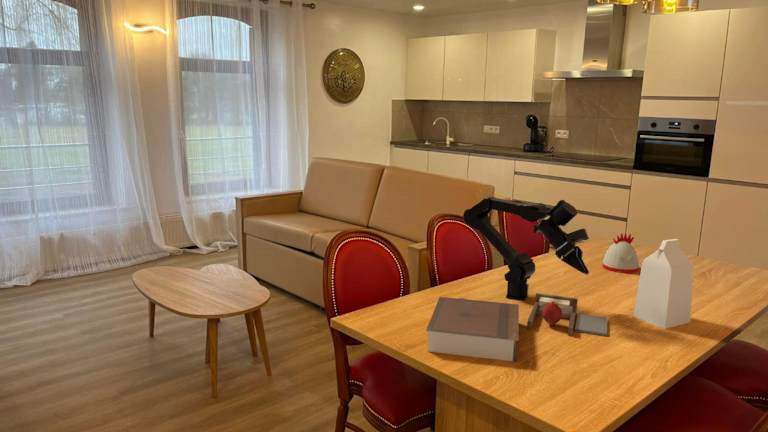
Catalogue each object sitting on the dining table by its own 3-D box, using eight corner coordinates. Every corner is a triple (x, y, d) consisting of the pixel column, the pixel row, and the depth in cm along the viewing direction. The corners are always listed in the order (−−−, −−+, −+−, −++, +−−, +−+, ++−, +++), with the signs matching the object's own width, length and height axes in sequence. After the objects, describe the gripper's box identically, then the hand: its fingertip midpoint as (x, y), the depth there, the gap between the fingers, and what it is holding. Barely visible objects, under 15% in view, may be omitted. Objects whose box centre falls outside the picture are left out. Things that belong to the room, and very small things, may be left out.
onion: (538, 321, 180) (540, 297, 178) (556, 321, 180) (558, 297, 179) (545, 329, 174) (547, 304, 173) (563, 328, 175) (566, 303, 173)
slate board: (574, 331, 173) (574, 328, 173) (577, 315, 186) (577, 313, 186) (606, 336, 170) (606, 333, 170) (607, 319, 183) (607, 317, 182)
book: (517, 324, 179) (518, 304, 178) (516, 364, 152) (518, 340, 151) (438, 316, 184) (439, 296, 183) (425, 353, 157) (425, 330, 156)
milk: (664, 328, 176) (675, 246, 171) (633, 316, 186) (642, 237, 181) (690, 322, 182) (700, 242, 177) (658, 310, 192) (667, 234, 187)
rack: (526, 328, 174) (528, 313, 173) (535, 307, 192) (536, 292, 191) (571, 336, 169) (573, 319, 168) (576, 313, 188) (577, 298, 187)
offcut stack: (536, 313, 186) (537, 300, 185) (537, 309, 190) (538, 296, 189) (571, 319, 182) (572, 305, 182) (572, 314, 186) (573, 301, 186)
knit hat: (643, 273, 233) (648, 237, 230) (609, 273, 233) (613, 236, 230) (629, 264, 246) (633, 229, 243) (597, 263, 246) (600, 229, 243)
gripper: (570, 215, 179) (604, 255, 173) (578, 223, 195) (610, 259, 189) (541, 237, 181) (574, 277, 175) (552, 243, 198) (582, 280, 192)
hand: (586, 273), depth 183 cm, fingers open, 9 cm apart
